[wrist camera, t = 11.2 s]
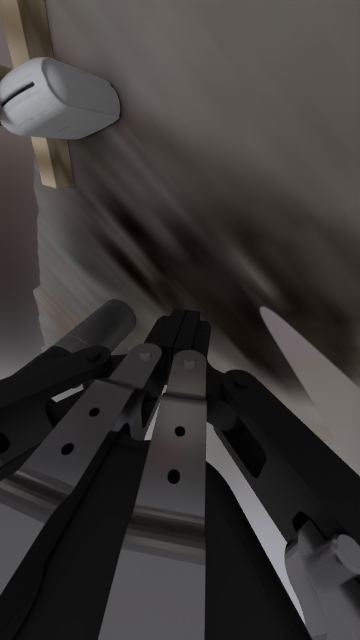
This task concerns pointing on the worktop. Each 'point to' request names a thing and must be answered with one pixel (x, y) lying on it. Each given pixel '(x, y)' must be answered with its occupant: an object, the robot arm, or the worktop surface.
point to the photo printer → (56, 101)
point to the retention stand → (25, 44)
